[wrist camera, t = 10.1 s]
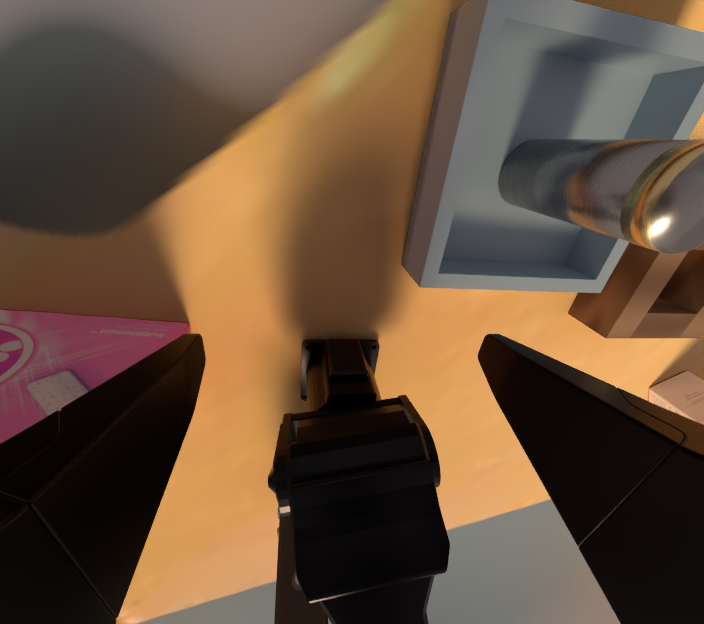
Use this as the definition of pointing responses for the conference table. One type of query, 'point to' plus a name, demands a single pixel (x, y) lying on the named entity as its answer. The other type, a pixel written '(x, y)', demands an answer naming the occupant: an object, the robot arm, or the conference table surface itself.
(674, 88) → the tray
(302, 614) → the card reader
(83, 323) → the gum box
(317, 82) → the conference table surface
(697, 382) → the ink cartridge box
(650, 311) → the socket block
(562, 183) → the steel pin
